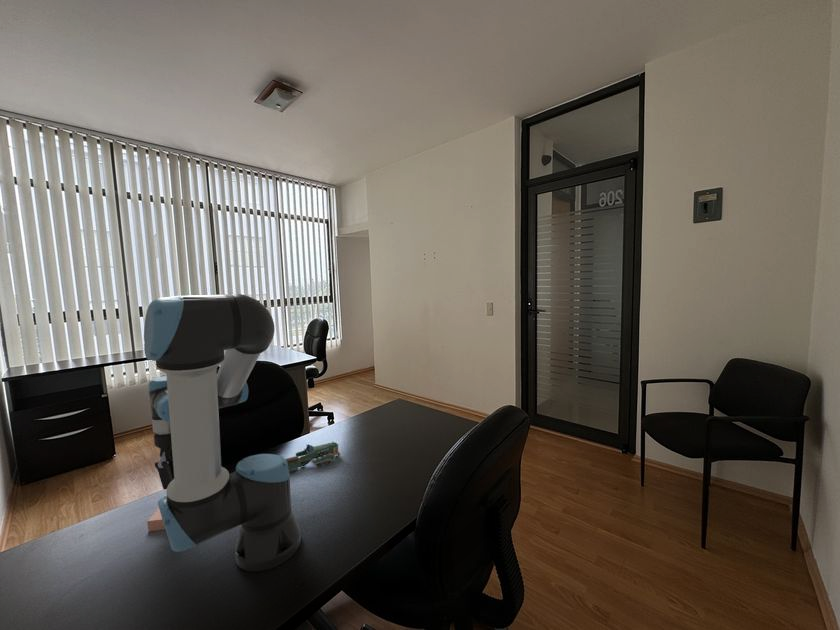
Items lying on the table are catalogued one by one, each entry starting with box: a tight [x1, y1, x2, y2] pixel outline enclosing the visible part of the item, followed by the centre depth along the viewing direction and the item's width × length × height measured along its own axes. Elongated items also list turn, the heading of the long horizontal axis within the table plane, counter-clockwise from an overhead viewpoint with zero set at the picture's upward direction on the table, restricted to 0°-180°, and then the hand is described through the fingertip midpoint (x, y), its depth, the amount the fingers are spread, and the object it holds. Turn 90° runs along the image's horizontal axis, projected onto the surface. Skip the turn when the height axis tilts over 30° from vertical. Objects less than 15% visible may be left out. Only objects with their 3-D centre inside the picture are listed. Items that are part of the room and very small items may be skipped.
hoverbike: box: [281, 440, 341, 474], centre depth 127 cm, size 10×25×8 cm, turn 124°
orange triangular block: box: [147, 508, 166, 532], centre depth 100 cm, size 8×6×3 cm
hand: (177, 505), depth 105 cm, fingers closed
